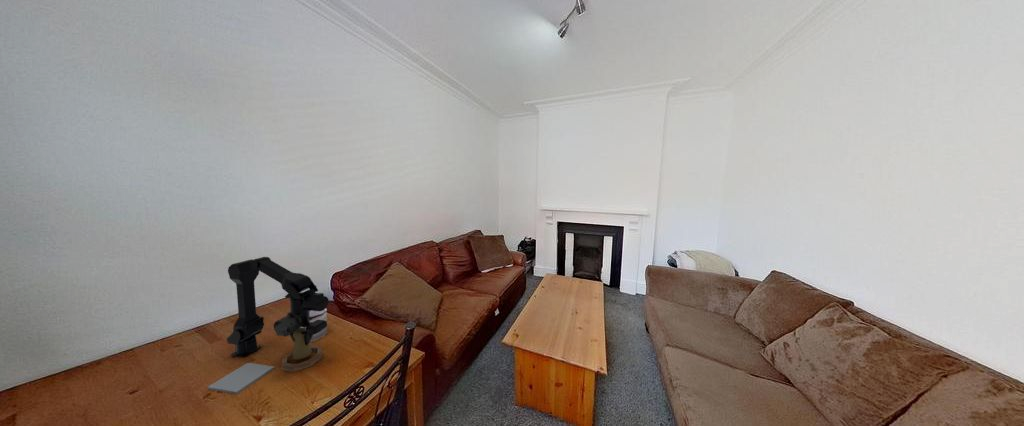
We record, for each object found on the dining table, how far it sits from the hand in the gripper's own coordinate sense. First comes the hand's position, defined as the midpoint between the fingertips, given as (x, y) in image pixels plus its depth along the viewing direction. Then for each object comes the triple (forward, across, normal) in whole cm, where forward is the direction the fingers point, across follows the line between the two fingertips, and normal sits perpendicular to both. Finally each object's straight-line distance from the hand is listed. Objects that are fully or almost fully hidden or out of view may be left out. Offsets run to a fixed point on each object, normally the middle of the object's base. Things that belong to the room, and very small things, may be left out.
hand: (301, 344), depth 101 cm
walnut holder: (+7, 0, 0) cm, 7 cm away
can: (+7, -11, +15) cm, 20 cm away
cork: (+5, 0, 0) cm, 5 cm away
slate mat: (+7, -12, -12) cm, 18 cm away
